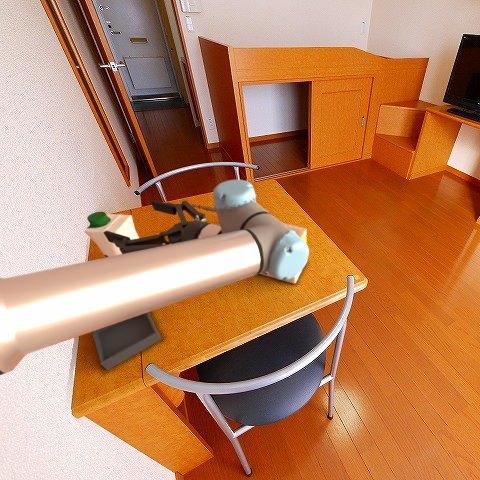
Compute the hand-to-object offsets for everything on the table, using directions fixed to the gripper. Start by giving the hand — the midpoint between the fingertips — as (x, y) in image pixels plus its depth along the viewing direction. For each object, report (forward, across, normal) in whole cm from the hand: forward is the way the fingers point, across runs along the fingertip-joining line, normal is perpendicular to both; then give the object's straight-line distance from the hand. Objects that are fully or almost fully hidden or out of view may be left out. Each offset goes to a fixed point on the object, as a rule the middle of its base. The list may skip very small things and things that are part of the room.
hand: (132, 219), depth 67 cm
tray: (-6, -18, -22) cm, 29 cm away
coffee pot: (-9, +24, -22) cm, 34 cm away
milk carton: (+10, 0, -22) cm, 24 cm away
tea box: (-30, +16, -22) cm, 41 cm away
